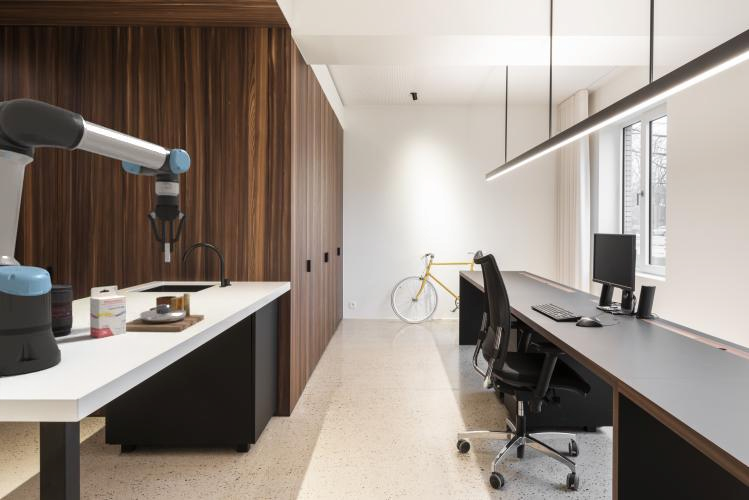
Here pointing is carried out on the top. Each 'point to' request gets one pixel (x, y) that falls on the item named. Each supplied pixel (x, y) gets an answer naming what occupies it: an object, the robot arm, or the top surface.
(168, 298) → the cup and saucer
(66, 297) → the camera lens
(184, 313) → the flange plate
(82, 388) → the top surface
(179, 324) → the walnut base
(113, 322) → the ink cartridge box
